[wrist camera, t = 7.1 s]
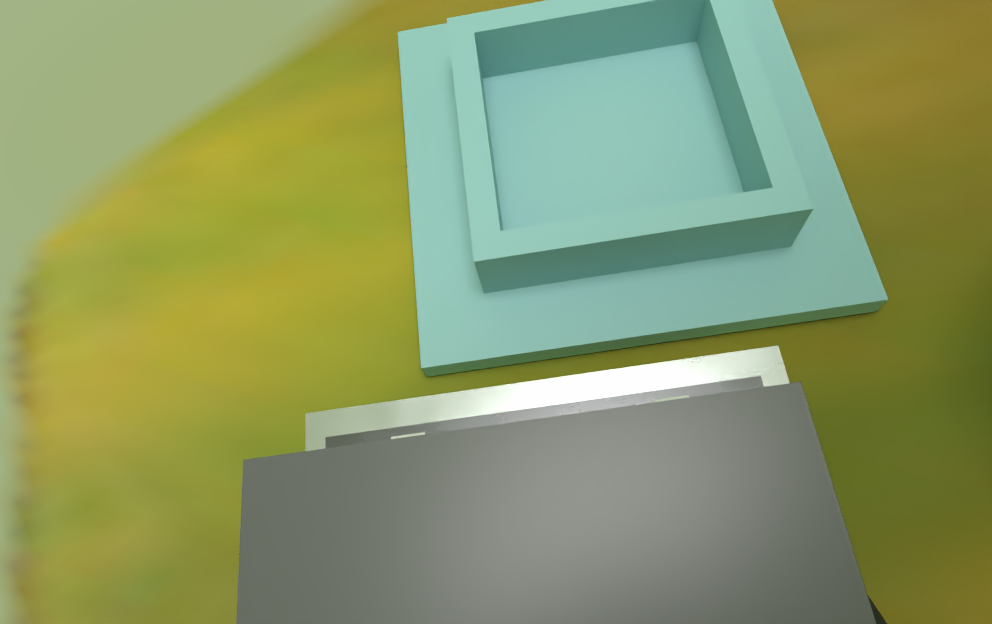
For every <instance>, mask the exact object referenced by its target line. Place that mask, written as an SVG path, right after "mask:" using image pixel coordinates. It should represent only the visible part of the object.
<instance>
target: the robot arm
mask: <svg viewBox="0 0 992 624" xmlns="http://www.w3.org/2000/svg"><path fill="white" fill-rule="evenodd" d="M682 398H689V395H686V396H678V397H671V398H664V399H657V400H653V402H660V401H667V400H674V399H682ZM418 435H425V432H422V433H415V434H408V435H401V436H394V437H391V439H396V438H404V437H411V436H418ZM867 596H868V595H867ZM868 599H869V602H870V605H871V609H872V612H873V615H874V618H875V621H876V624H887V623H886V622H885V620H884V619H883V617H882V616H881V614H880V613H879V611H878V610H877V608H876V607H875V605H874V604H873V602H872V601H871V599H870V598H869V596H868Z"/></svg>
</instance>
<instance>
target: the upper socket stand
mask: <svg viewBox="0 0 992 624" xmlns="http://www.w3.org/2000/svg"><path fill="white" fill-rule="evenodd" d="M781 384H789V379H788V376H787V373H786V370H785V366H784V363H783V360H782V356H781V353H780V350H779V347H778V346H771V347H764V348H757V349H750V350H744V351H737V352H730V353H723V354H716V355H709V356H702V357H695V358H688V359H681V360H674V361H667V362H660V363H653V364H646V365H639V366H632V367H625V368H618V369H612V370H605V371H598V372H591V373H584V374H577V375H570V376H563V377H556V378H549V379H542V380H535V381H528V382H521V383H514V384H507V385H500V386H493V387H487V388H480V389H473V390H466V391H459V392H452V393H445V394H438V395H431V396H424V397H417V398H410V399H403V400H396V401H389V402H382V403H375V404H368V405H362V406H355V407H348V408H341V409H334V410H327V411H320V412H313V413H306V451H311V450H318V449H325V448H332V447H339V446H346V445H354V444H361V443H368V442H375V441H382V440H389V439H391V437H394V436H401V435H408V434H415V433H422V432H425V434H432V433H439V432H446V431H453V430H461V429H468V428H475V427H482V426H489V425H496V424H503V423H510V422H518V421H525V420H532V419H539V418H546V417H553V416H560V415H567V414H575V413H582V412H589V411H596V410H603V409H610V408H617V407H625V406H632V405H639V404H646V403H653V400H657V399H664V398H671V397H678V396H686V395H689V397H696V396H703V395H710V394H717V393H724V392H731V391H739V390H746V389H753V388H760V387H767V386H774V385H781Z"/></svg>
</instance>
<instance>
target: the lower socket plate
mask: <svg viewBox="0 0 992 624" xmlns="http://www.w3.org/2000/svg"><path fill="white" fill-rule="evenodd" d="M398 42H399V56H400V71H401V85H402V99H403V114H404V128H405V142H406V157H407V171H408V185H409V200H410V214H411V229H412V243H413V257H414V272H415V286H416V300H417V315H418V329H419V343H420V358H421V369H422V370H423V371H424V373H425V374H426V376H427V377H430V376H437V375H443V374H450V373H457V372H464V371H471V370H478V369H485V368H491V367H498V366H505V365H512V364H519V363H526V362H533V361H539V360H546V359H553V358H560V357H567V356H574V355H581V354H587V353H594V352H601V351H608V350H615V349H622V348H629V347H635V346H642V345H649V344H656V343H663V342H670V341H677V340H683V339H690V338H697V337H704V336H711V335H718V334H725V333H731V332H738V331H745V330H752V329H759V328H766V327H773V326H779V325H786V324H793V323H800V322H807V321H814V320H821V319H827V318H834V317H841V316H848V315H855V314H862V313H869V312H875V311H877V310H878V309H879V308H880V307H881V306H882V305H883V304H884V303H885V302H886V301H888V297H887V295H886V292H885V289H884V287H883V284H882V282H881V279H880V277H879V274H878V271H877V269H876V266H875V264H874V261H873V259H872V256H871V253H870V251H869V248H868V246H867V243H866V241H865V238H864V235H863V233H862V230H861V228H860V225H859V223H858V220H857V217H856V215H855V212H854V210H853V207H852V205H851V202H850V199H849V197H848V194H847V192H846V189H845V187H844V184H843V181H842V179H841V176H840V174H839V171H838V169H837V166H836V163H835V161H834V158H833V156H832V153H831V151H830V148H829V145H828V143H827V140H826V138H825V135H824V133H823V130H822V127H821V125H820V122H819V120H818V117H817V115H816V112H815V109H814V107H813V104H812V102H811V99H810V97H809V94H808V91H807V89H806V86H805V84H804V81H803V79H802V76H801V73H800V71H799V68H798V66H797V63H796V61H795V58H794V55H793V53H792V50H791V48H790V45H789V43H788V40H787V37H786V35H785V32H784V30H783V27H782V25H781V22H780V19H779V17H778V14H777V12H776V9H775V7H774V4H773V1H772V0H546V1H541V2H535V3H530V4H524V5H519V6H513V7H508V8H502V9H496V10H491V11H485V12H480V13H474V14H469V15H463V16H458V17H452V18H447V23H445V24H440V25H434V26H428V27H423V28H417V29H412V30H406V31H401V32H398Z"/></svg>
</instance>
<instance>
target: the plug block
mask: <svg viewBox="0 0 992 624" xmlns="http://www.w3.org/2000/svg"><path fill="white" fill-rule="evenodd" d="M236 624H876V621H875V618H874V615H873V612H872V609H871V605H870V602H869V599H868V596H867V593H866V589H865V586H864V583H863V580H862V577H861V573H860V570H859V567H858V564H857V560H856V557H855V554H854V551H853V548H852V544H851V541H850V538H849V535H848V532H847V528H846V525H845V522H844V519H843V516H842V512H841V509H840V506H839V503H838V500H837V496H836V493H835V490H834V487H833V484H832V480H831V477H830V474H829V471H828V468H827V464H826V461H825V458H824V455H823V452H822V448H821V445H820V442H819V439H818V436H817V432H816V429H815V426H814V423H813V420H812V416H811V413H810V410H809V407H808V404H807V400H806V397H805V394H804V391H803V388H802V384H801V382H796V383H789V384H781V385H774V386H767V387H760V388H753V389H746V390H739V391H731V392H724V393H717V394H710V395H703V396H696V397H689V398H682V399H674V400H667V401H660V402H653V403H646V404H639V405H632V406H625V407H617V408H610V409H603V410H596V411H589V412H582V413H575V414H567V415H560V416H553V417H546V418H539V419H532V420H525V421H518V422H510V423H503V424H496V425H489V426H482V427H475V428H468V429H461V430H453V431H446V432H439V433H432V434H425V435H418V436H411V437H404V438H396V439H389V440H382V441H375V442H368V443H361V444H354V445H346V446H339V447H332V448H325V449H318V450H311V451H304V452H297V453H289V454H282V455H275V456H268V457H261V458H254V459H247V460H243V483H242V506H241V530H240V553H239V576H238V600H237V623H236Z"/></svg>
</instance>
